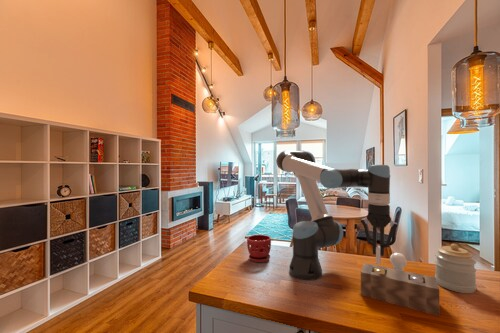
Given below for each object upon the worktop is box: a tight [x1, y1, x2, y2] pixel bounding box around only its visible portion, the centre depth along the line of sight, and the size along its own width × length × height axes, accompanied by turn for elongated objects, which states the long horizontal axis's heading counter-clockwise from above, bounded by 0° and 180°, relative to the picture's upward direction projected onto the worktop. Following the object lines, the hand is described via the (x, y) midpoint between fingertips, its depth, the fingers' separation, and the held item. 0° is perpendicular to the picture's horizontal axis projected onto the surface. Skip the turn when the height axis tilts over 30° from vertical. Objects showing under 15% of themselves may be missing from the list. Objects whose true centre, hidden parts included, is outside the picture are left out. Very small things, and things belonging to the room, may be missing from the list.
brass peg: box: [374, 268, 385, 275], centre depth 92 cm, size 4×4×8 cm
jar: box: [434, 243, 477, 294], centre depth 98 cm, size 13×13×18 cm
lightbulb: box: [389, 252, 408, 271], centre depth 105 cm, size 6×6×11 cm
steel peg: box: [410, 275, 423, 283], centre depth 85 cm, size 4×4×8 cm
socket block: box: [360, 262, 440, 317], centre depth 89 cm, size 24×10×9 cm, turn 57°
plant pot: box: [246, 234, 272, 263], centre depth 127 cm, size 13×13×12 cm
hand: (378, 262), depth 92 cm, fingers closed
